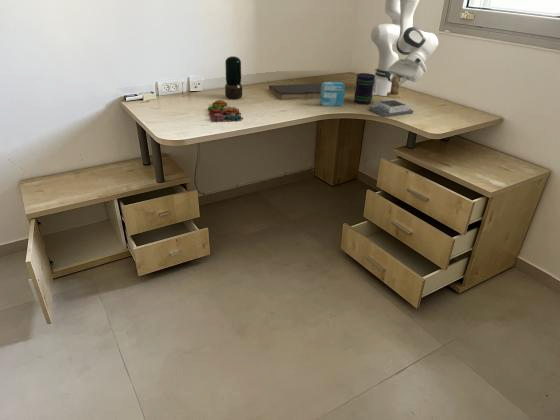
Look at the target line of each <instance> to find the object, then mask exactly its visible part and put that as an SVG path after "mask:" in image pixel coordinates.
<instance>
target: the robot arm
mask: <svg viewBox="0 0 560 420" xmlns="http://www.w3.org/2000/svg"><path fill="white" fill-rule="evenodd" d="M419 2H420V0H385V2H384V3H385V4H384V11H385V14H386V15H387V16H388V17H390V19H391V22H392V23H380V24H376V25H375V26H373V28H372V29H371V32H370V38H371V41H372V43H373V44H375V46H376V48H377V51H378V66H377V68H376V69H374V72H375V73H374V75H375V80H374V86H373V91H372V93H373V94H372V96H381V97H387V93H388V92H390V91H391V85H392V78H393V76H400V77H401V79H400V80H399V81H398V82H397V84H398V85H399V86H402V84H403V83H405V82H407V81H410V82H413V83H416V82H418V81H419V80H420V79H421V78H422V76H423V75H424V73H425V72H427V70H428V68H427V66H426V64H425V62H426V60H427V59H429V58H430V57H431V56H432V55H433V54H434V52H435V51H436V49H437V48H438V46H439V40H438V37H437V36H436V34H434V33H432V32H427V31H426V32H425V31H422V30H421V29H420V28H417V27H415V26H413V21H414V20H413V18H414V14H415V10H416V9H417V6H418V4H419ZM393 45H396V46H395V47H396V50H397V52H398V53H399V54H401V55H403V56H406V57H405V58H404V59H403V58H401V59H399V58H400V57H399V55H398V53H397V52H396V51H395V50H393Z"/></svg>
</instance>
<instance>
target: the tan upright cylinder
mask: <svg viewBox="0 0 560 420" xmlns="http://www.w3.org/2000/svg"><path fill="white" fill-rule="evenodd" d="M401 79H402V78H401V77H400V76H393V78H392V85H391V91H390V92H388V93H387V96H386V98H387V97H388V98H390V99H400V98H401V97H402V93H401V92H399V91H400V85H398V84H397V82H398V81H399V80H401Z"/></svg>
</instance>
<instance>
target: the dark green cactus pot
mask: <svg viewBox="0 0 560 420" xmlns="http://www.w3.org/2000/svg"><path fill="white" fill-rule="evenodd" d="M224 65H225V84H224V85H225V86H224V93H225V97H226V98H227V99H229V100H239V99H241V98H242V97H243V84H242V60H241V59H240V58H239V57H238V56H236V55H235V56H234V55H233V56H228V57H227V58H226V59H225V63H224Z"/></svg>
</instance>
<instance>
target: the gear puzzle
mask: <svg viewBox="0 0 560 420" xmlns="http://www.w3.org/2000/svg"><path fill="white" fill-rule="evenodd" d="M207 110H208V115H209V119H210V123H217V122H221V123H226V122H228V123H229V122H233V121H234V122H235V121H236V122H242V120H244V117H242V112H240V109H239V108H237V107H235V106H232V107H231V106H228V102H226V101H225V100H222V99H221V100H220V99H219V100H218V99H217V100H215V102H212V105H211V106H208V108H207Z"/></svg>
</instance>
